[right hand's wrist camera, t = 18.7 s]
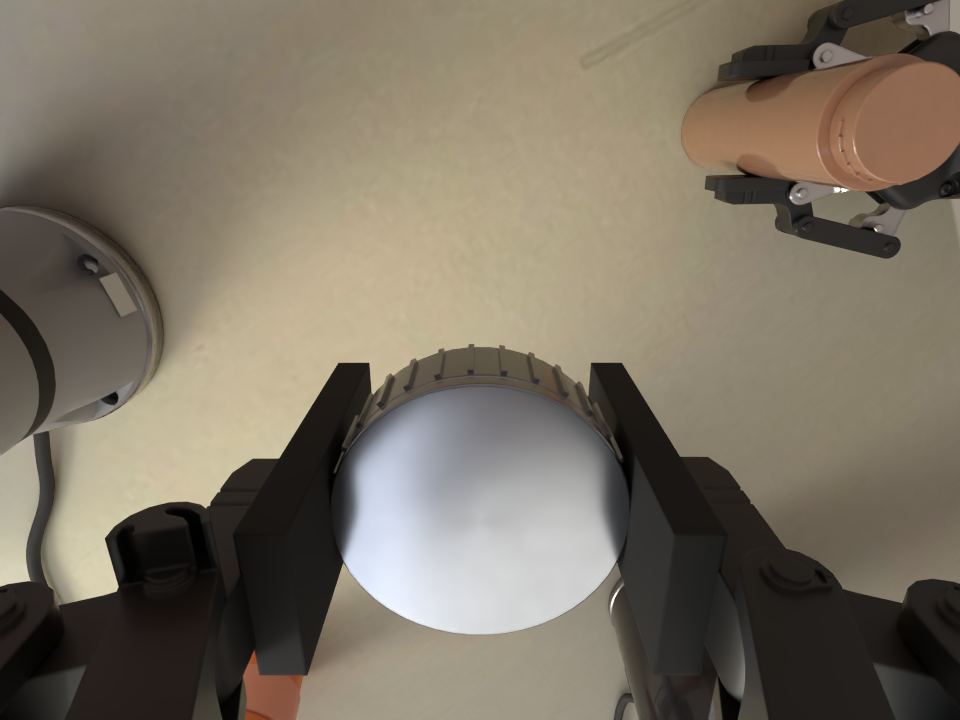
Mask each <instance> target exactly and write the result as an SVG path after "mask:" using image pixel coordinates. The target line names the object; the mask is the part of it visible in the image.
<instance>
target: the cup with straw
mask: <svg viewBox="0 0 960 720" xmlns="http://www.w3.org/2000/svg"><path fill="white" fill-rule="evenodd" d="M243 678H244V683H245V688H246V695H247V704H246V714H245V720H296V716H297V711H298V707H299V702H300V694H299V692H300V688H301V683H302V679H303V675H259V671H258V666H257V660H256V655H255V650H254V652H253V654H252V657H251V659H250V661H249V663H248V666H247V668H246V670H245V673H244V675H243Z"/></svg>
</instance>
